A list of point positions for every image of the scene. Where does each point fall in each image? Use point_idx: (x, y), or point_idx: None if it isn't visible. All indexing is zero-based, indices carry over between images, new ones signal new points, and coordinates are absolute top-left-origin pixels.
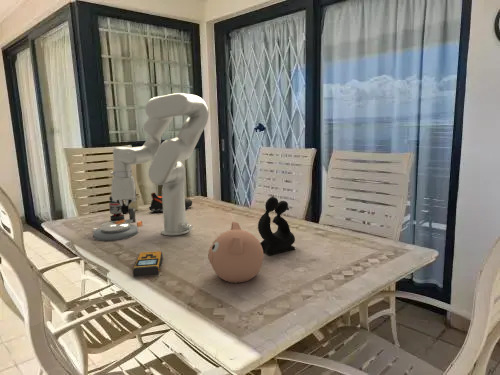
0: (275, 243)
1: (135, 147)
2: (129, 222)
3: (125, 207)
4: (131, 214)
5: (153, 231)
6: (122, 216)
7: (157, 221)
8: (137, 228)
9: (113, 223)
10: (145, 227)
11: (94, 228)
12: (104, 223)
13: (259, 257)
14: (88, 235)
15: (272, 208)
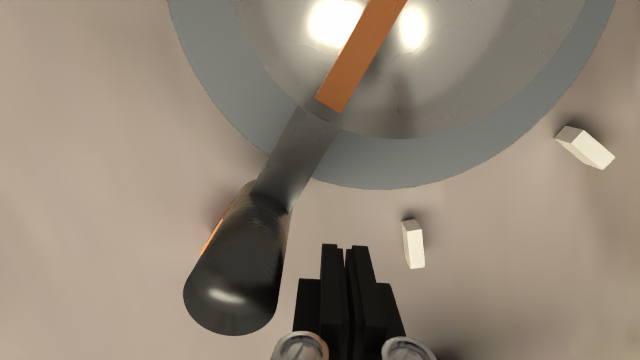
0: None
1: None
2: (237, 6)
3: (325, 305)
4: (246, 218)
5: (34, 7)
6: None
7: (120, 319)
8: (173, 12)
9: (442, 1)
10: (163, 168)
11: (601, 149)
12: (555, 32)
13: None
14: (637, 5)
15: None
